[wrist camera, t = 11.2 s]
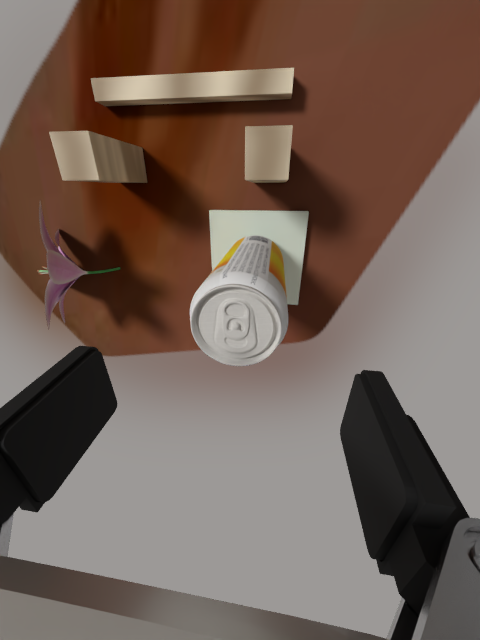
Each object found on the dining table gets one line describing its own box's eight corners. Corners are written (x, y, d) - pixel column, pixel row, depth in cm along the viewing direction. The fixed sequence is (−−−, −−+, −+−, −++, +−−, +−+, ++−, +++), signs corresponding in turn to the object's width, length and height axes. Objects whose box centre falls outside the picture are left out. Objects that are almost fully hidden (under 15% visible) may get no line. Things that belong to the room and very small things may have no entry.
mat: (308, 210, 25) (308, 211, 25) (297, 302, 30) (297, 304, 29) (210, 209, 26) (209, 210, 26) (214, 298, 31) (213, 300, 30)
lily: (92, 186, 28) (-25, 183, 21) (152, 266, 26) (47, 291, 19) (83, 259, 36) (-3, 274, 29) (129, 323, 35) (49, 355, 28)
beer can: (228, 287, 29) (188, 367, 16) (227, 233, 27) (178, 275, 13) (281, 290, 29) (284, 375, 15) (285, 234, 26) (294, 280, 13)
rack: (292, 75, 21) (301, 16, 14) (285, 182, 24) (288, 179, 17) (101, 85, 23) (22, 37, 16) (120, 182, 26) (62, 180, 19)
